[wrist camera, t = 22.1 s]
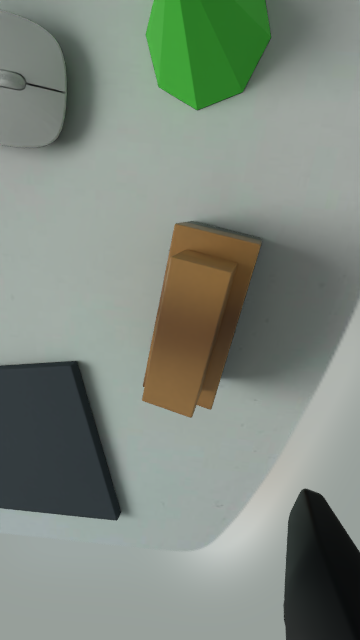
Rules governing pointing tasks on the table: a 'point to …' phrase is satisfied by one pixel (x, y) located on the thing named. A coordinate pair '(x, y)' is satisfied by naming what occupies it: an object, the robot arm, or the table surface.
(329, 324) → the table surface
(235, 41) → the gemstone
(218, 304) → the brush
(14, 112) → the computer mouse
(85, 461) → the mat
